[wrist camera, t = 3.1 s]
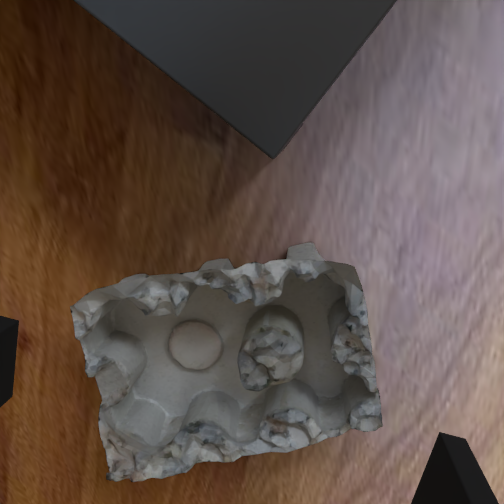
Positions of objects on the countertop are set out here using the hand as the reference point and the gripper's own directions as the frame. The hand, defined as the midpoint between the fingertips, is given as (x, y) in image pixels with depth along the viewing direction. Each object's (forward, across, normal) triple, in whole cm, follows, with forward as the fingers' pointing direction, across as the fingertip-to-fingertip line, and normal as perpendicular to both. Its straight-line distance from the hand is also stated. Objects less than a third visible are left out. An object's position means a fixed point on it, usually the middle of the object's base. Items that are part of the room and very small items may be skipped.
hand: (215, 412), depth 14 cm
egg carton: (+5, 0, 0) cm, 5 cm away
